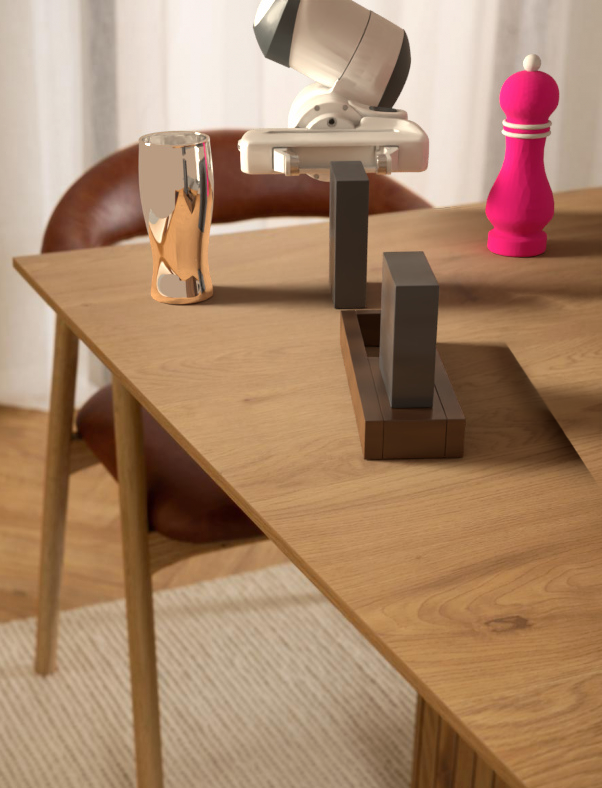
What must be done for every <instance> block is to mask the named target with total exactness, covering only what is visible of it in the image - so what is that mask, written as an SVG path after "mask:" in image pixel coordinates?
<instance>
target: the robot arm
mask: <svg viewBox="0 0 602 788" xmlns="http://www.w3.org/2000/svg"><path fill="white" fill-rule="evenodd" d="M252 30H253V33H254V36H255V40H256V42H257V44H258V47H259V49H260V51H261V53H262V55H263V57H264V58H265V59H267V60H269V61H271V62H274V63H276V64H278V65H281V66H283V67H285V68H288V69H290V68H291V69H293V70H294V71H296V72H298V73H300V74H302V75H304V76H305V77H307V78H309V79H311V80H313V81H314V82H313V83H310V84H309V85H306V86H305V87H303V89H302V90H301V91H299V93H298V94H297V95H296V97H295V98H294V100H293V101H292V104H291V106H290V109H289V113H288V119H287V127H274V128H273V127H266V128H264V127H263V128H254V129H249V130H248V131H246V132H245V133H244V134H243V135H242V137H241V138H240V139H239V140H237V149H238V151H239V152H240V157H239V158H240V170H241V172H242V173H244V174H247V175H285V177H299V176H301V175H305V174H306V175H307V176H309V177H310V178H312V179H314V180H317V181H320V182H327V183H330V161H361V162H362V164H363V167H364V169H365V172H366V174H376V175H378V176H382V175H383V176H384V175H385V176H386V175H387V176H389V175H390V176H391V175H392V173H423V172H426V171H427V169H428V167H429V158H430V138H429V136H428V134H427V132H426V131H425V130H424V129H423V128H422V127H421V126H420V125H419V124H418V123H416V122H415V121H413V120H409V117H408V112H407V110H404V109H401V108H400V109H399V108H393V107H394V106H395V105H396V103H397V101H398V99H399V98H400V96H401V94H402V92H403V89H404V87H405V86H406V82H407V80H408V77H409V74H410V70H411V65H412V54H411V53H412V52H411V45H410V40H409V37H408V34H407V32H406V30H405V29H404V28H402V27H400V26H399V25H397V24H396V23H394V22H393V21H391V20H389V19H387V18H386V17H384V16H382V15H380V14H378V13H376V12H375V11H374V10H371V9H369V8H367V7H365V6H363V5H361V4H359V3H358V2H356V1H354V0H260V3H259V5H258V7H257V10H256V13H255V17H254V21H253V23H252Z"/></svg>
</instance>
